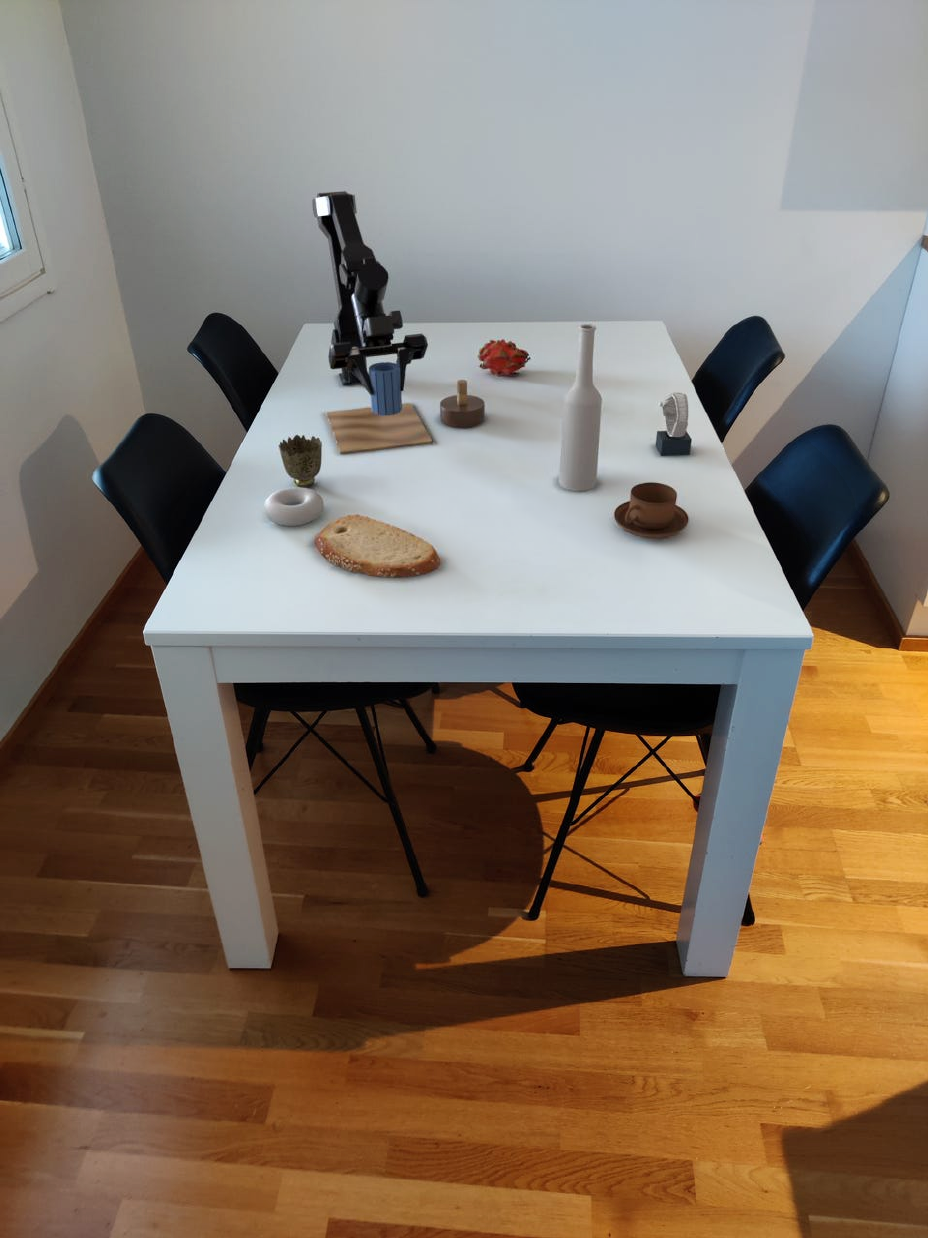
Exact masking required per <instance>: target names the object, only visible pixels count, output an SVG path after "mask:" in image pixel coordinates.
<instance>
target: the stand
mask: <svg viewBox="0 0 928 1238" xmlns="http://www.w3.org/2000/svg"><path fill="white" fill-rule="evenodd" d="M485 405H486V403H485V401H484V399H482V398H480V397H478V396H475V395H472V394H468V381H467V380H466V379H459V380H457V381H456V394H455V395H454V394H453V395H450V396H446V397H445V398H443V399H442V400H440V403H439V413H440V414H439V415H440V420H439V421H440V422H441V423H442V424H443V425H444V426H447V427H449V428H454V429H469V428H474V427H477V426H480V425H482V424H483V423H485V420H486V419H485V417H486V416H485V415H486V413H485V412H486V411H485V410H486V409H485Z"/></svg>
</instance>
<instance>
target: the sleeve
mask: <svg viewBox="0 0 928 1238" xmlns="http://www.w3.org/2000/svg"><path fill="white" fill-rule="evenodd" d="M368 374H369V378H370V382H371V385H372V390H373V395H370V406H371V407H370V408H372V411H373V413H375V414H377V415H383V416H386V415H387V416H388V415H393V414H394V415H395V414H397V413H399V412H401V410H402V404H403V400H402V398H403V397H402V391H401V377H400V366H399V365H398V364H396V362H392V361H391V362H390V361H383V362H382V361H381V362H376V363H372V364H371V365H369V367H368Z"/></svg>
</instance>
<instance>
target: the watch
mask: <svg viewBox="0 0 928 1238" xmlns="http://www.w3.org/2000/svg"><path fill="white" fill-rule="evenodd" d="M658 406H659V407H661V411H662V415H663V417H664V423H665V429H666V430H657V431H656V438H655V448H656V450H657V452H658V454H659V455H660V457H669V456H690V455H691V448H692V441H693V439H692V437H691V436H690V434H689V433H688V431H687V430H688V426H689V421H688V420H689V401H688V396H687V394H686V393H683V392H672V393H669V394H667V395H665V396H664V397H663V398H662V399H661V401H659V403H658Z"/></svg>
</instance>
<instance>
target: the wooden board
mask: <svg viewBox="0 0 928 1238" xmlns="http://www.w3.org/2000/svg"><path fill="white" fill-rule="evenodd" d="M325 415H326V418H327V421H328V423H329V426H330V429H331V432H332V434H333V437H334V440H335V443H336V445H337V448H338V451H339V454H340V455H342V454H350V453H352V454H353V453H359V452H366V451H367V452H369V451H375V450H376V451H377V450H384V449H394V448H400V447H409V446H419V445H426V444H433V440H432V438H431V436H430V434H429V433H428V431H427V429H426V427H425V425H424V424H423V422H422V420H421V418H420V417H419V415H418V413H417V411H416V410H415V407H414V406H413V404H412V402H409V403H402V410H401V412H399V413H397V414H395V415H394V414H393V415H388V416H387V415H386V416H383V415H377V414H375V413H373V411H372V407H363V408H355V409H346V410H345V409H344V410H336V411H328V412H325Z"/></svg>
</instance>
